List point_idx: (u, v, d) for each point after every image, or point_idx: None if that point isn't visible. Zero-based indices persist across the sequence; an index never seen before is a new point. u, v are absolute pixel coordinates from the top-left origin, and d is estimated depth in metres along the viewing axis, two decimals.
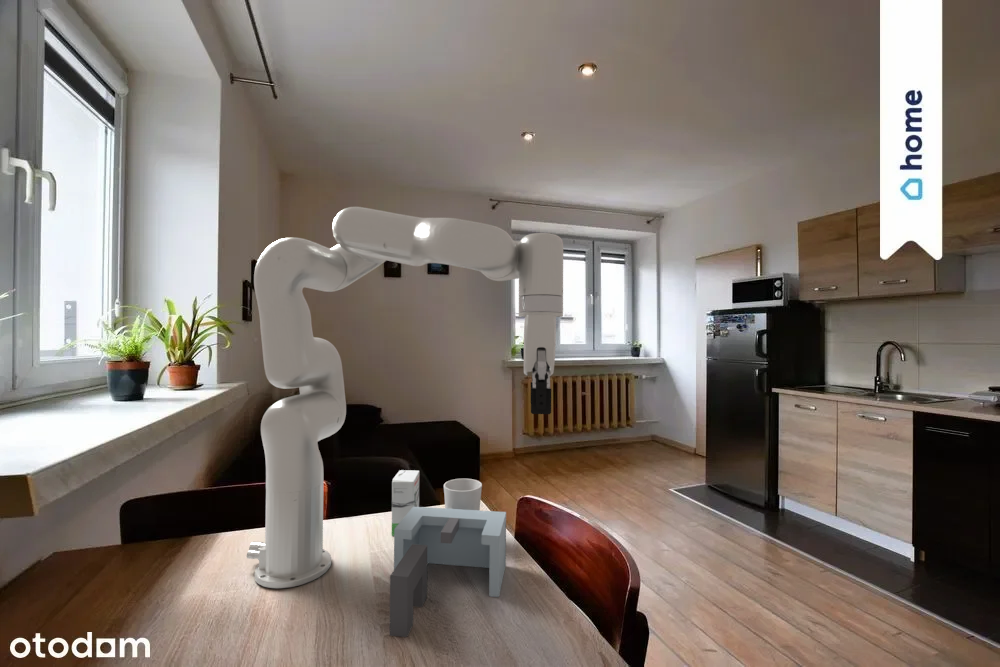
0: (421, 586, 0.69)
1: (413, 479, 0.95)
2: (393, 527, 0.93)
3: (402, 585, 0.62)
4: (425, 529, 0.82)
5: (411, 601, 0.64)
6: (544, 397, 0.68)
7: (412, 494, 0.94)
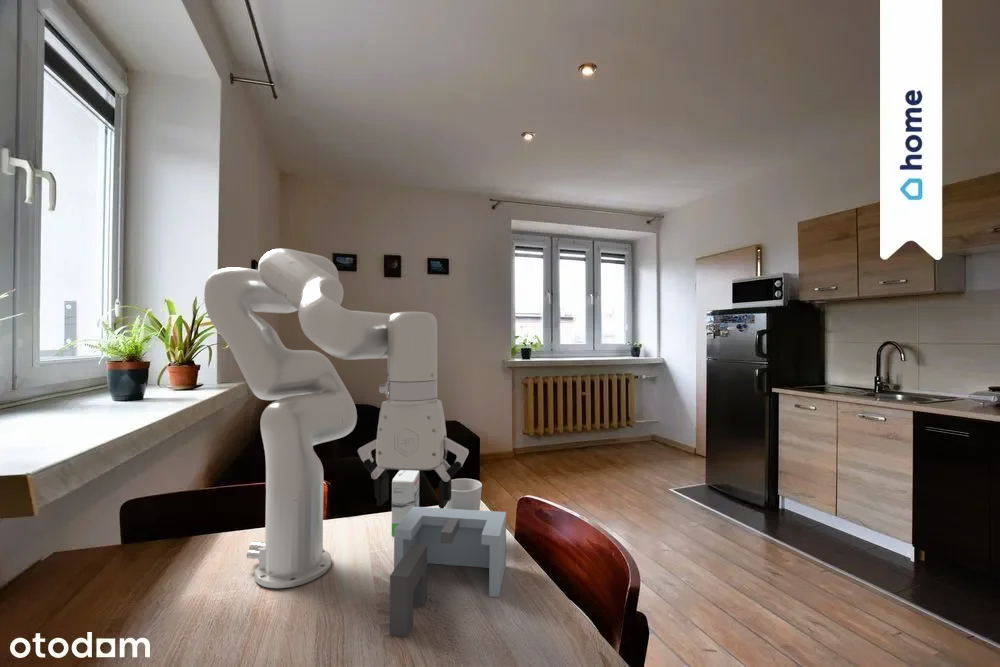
0: (421, 586, 0.69)
1: (413, 479, 0.95)
2: (393, 527, 0.93)
3: (402, 585, 0.62)
4: (425, 529, 0.82)
5: (411, 601, 0.64)
6: None
7: (412, 494, 0.94)
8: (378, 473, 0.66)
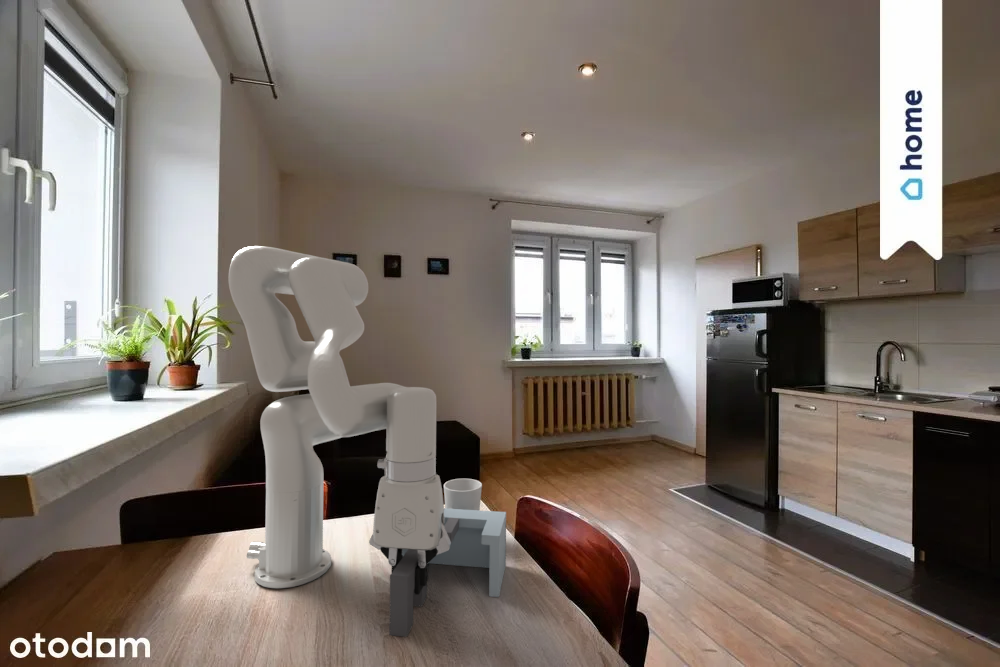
0: None
1: None
2: None
3: (402, 585, 0.62)
4: None
5: (411, 601, 0.64)
6: (427, 570, 0.67)
7: None
8: (394, 558, 0.66)
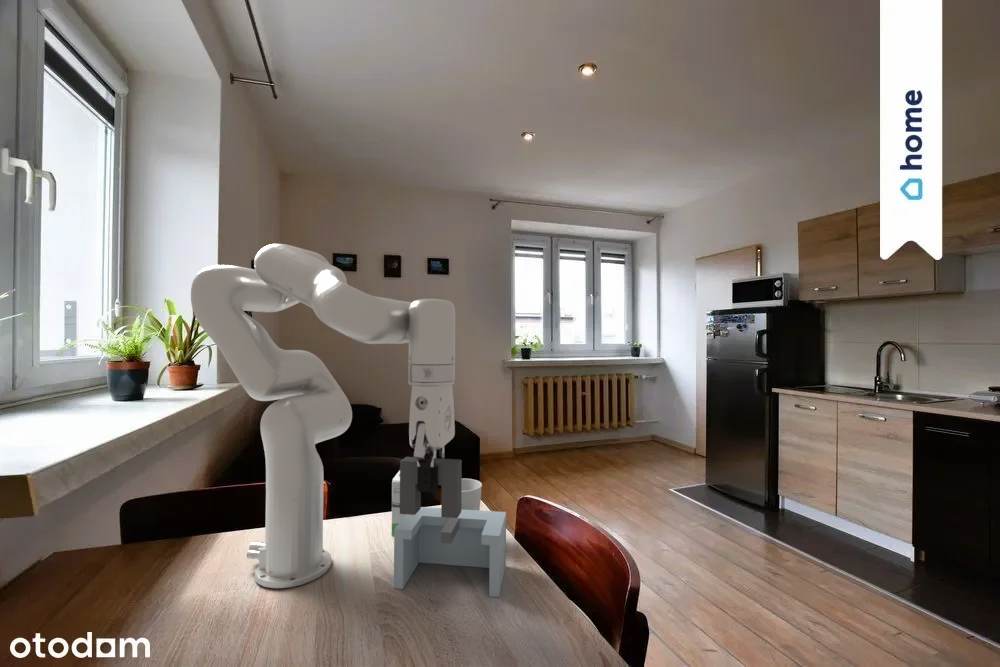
0: None
1: None
2: (393, 527, 0.93)
3: (460, 468, 0.71)
4: (425, 529, 0.82)
5: None
6: None
7: None
8: (435, 460, 0.69)
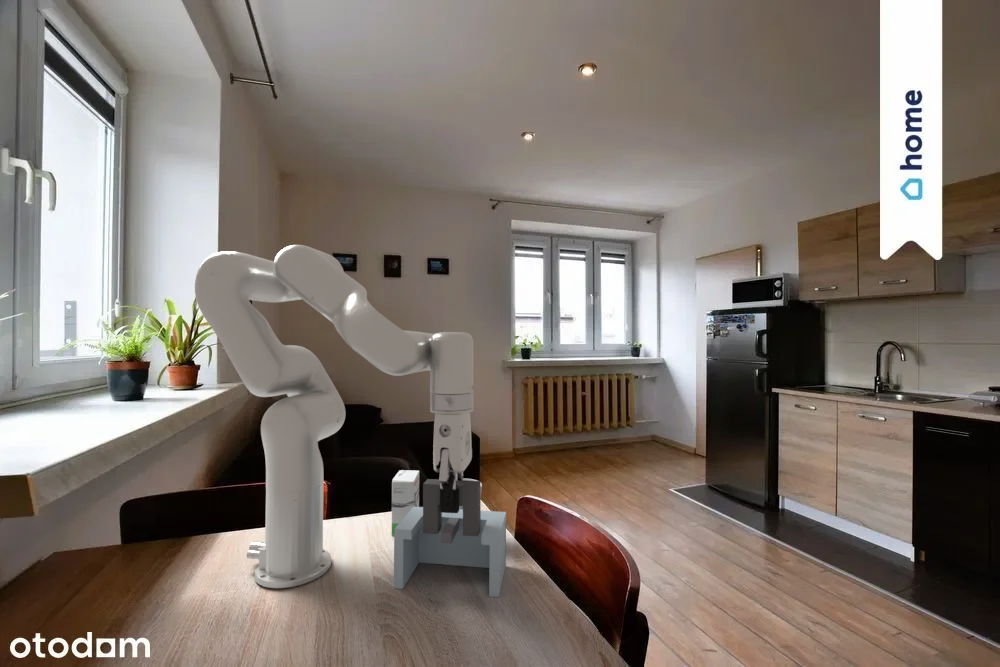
0: None
1: (413, 479, 0.95)
2: (393, 527, 0.93)
3: (479, 489, 0.76)
4: None
5: None
6: None
7: (412, 494, 0.94)
8: (456, 482, 0.74)
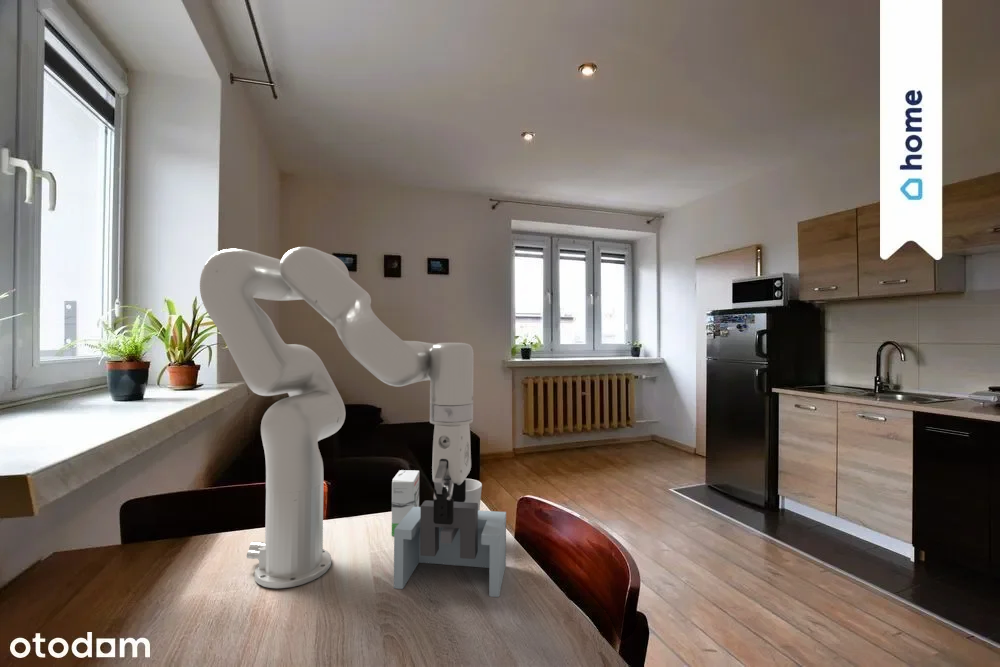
0: (438, 531, 0.77)
1: (413, 479, 0.95)
2: (393, 527, 0.93)
3: (477, 512, 0.76)
4: None
5: None
6: None
7: (412, 494, 0.94)
8: (451, 494, 0.71)
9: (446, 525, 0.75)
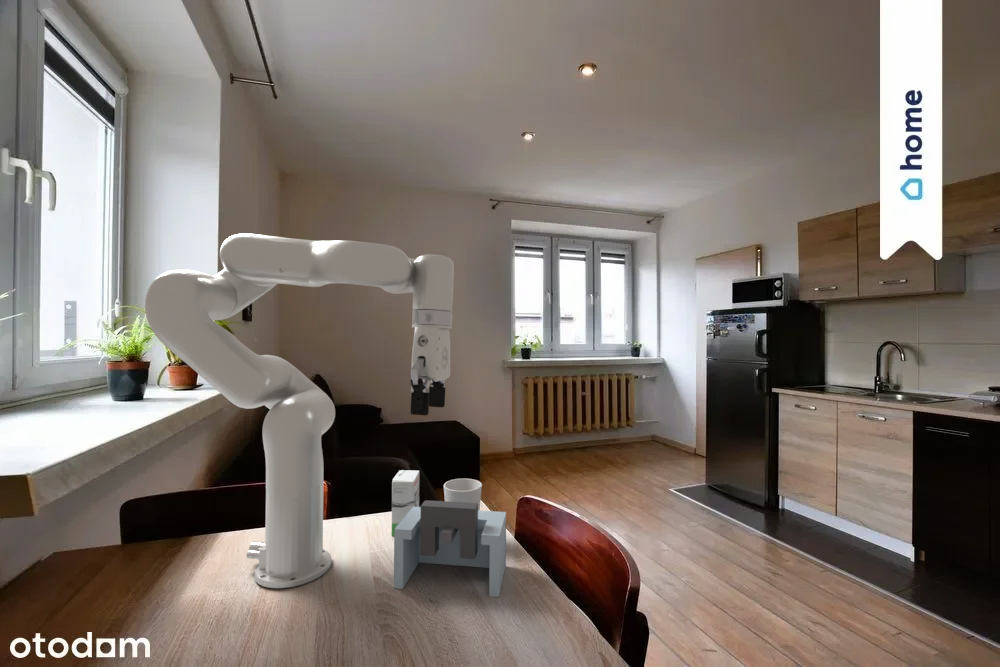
0: (438, 531, 0.77)
1: (413, 479, 0.95)
2: (393, 527, 0.93)
3: (477, 512, 0.76)
4: None
5: None
6: None
7: (412, 494, 0.94)
8: (427, 388, 0.78)
9: (446, 525, 0.75)
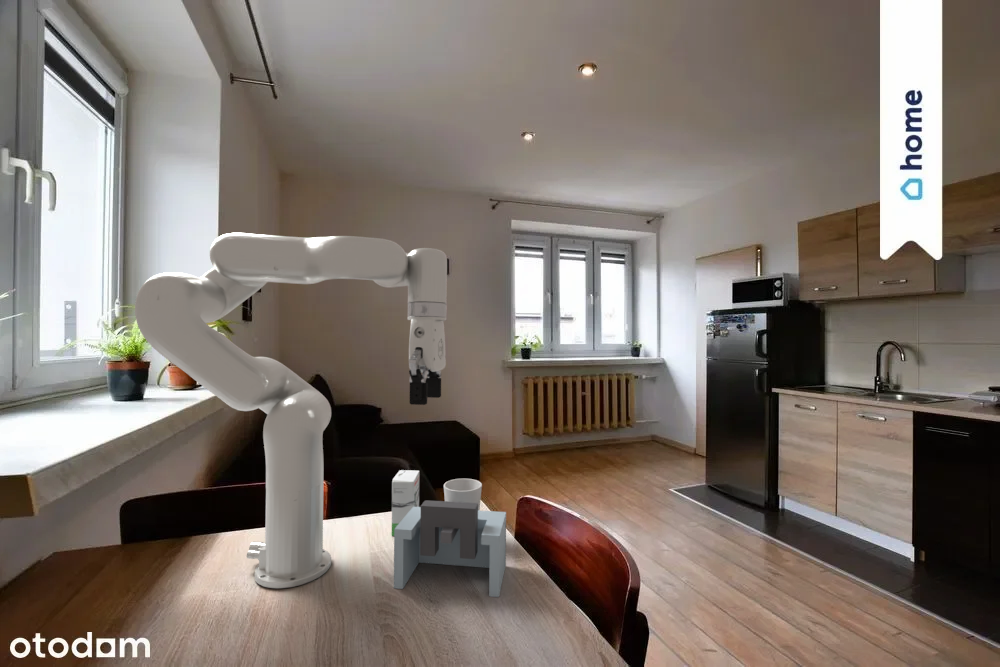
0: (438, 531, 0.77)
1: (413, 479, 0.95)
2: (393, 527, 0.93)
3: (477, 512, 0.76)
4: None
5: None
6: None
7: (412, 494, 0.94)
8: (425, 378, 0.80)
9: (446, 525, 0.75)
